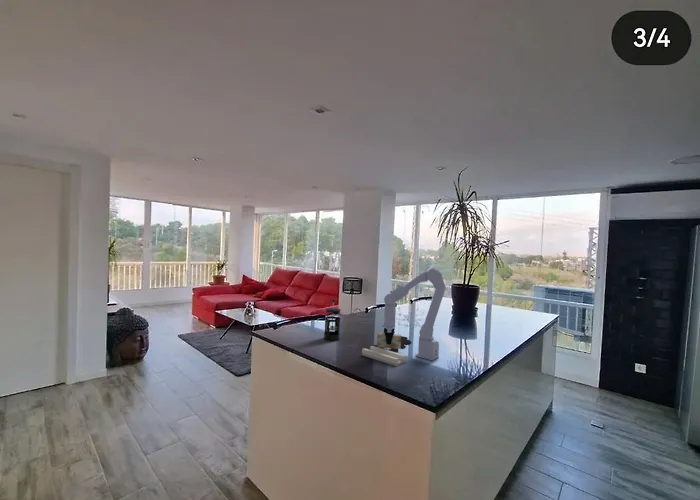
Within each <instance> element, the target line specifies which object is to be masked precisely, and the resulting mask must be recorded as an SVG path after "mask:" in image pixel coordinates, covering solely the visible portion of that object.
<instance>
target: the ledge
mask: <svg viewBox="0 0 700 500" xmlns="http://www.w3.org/2000/svg"><path fill="white" fill-rule="evenodd" d="M361 349H362V350H361V356H363V357H367V358H369V359H373V360H375V361H379V362H381V363H382V362H383V363H385V364H388V365H391V366H393V367H394V366H395V367H397V366H400V365H402V364H404V363H406V362H407V355H405V354H402V353H398V352H392V351H389V350H388V349H387V348H379V347H375V346H373V345H371V346H370V347H369V349H368V348H361Z"/></svg>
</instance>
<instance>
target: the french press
mask: <svg viewBox="0 0 700 500" xmlns="http://www.w3.org/2000/svg"><path fill="white" fill-rule="evenodd" d="M329 300H330V301H332V307H329V308H325V309H324V310H325V313H326V314H327V313H332V315H331V316H330V315H329V316H325V317H324V333H323V340H324V341H327V342H337V341H340V339H341V338H340V336H341V334H340V328H341V326H340V325H341V317H339V316H336V315H340V314H341V311H342V310H341V309H340V308H337V307H334V304H335V301H337V300H338V299H337V298H329ZM334 315H335V316H334Z"/></svg>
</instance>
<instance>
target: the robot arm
mask: <svg viewBox="0 0 700 500" xmlns="http://www.w3.org/2000/svg"><path fill="white" fill-rule="evenodd" d="M428 281H429V282H430V283H431V284H432V286H433V287H434V293H433V295H432V299H431V302H430V305H429V308H428V310H427V311H428V312H427V315H426V318H425V321H424V323H423V324H422V325H421V326H420V329H419V336H418V351H417V353H416V354H414V356H415V357H418V358H422V359H425V360H428V361H434V360H436V359H438V358H440V356H439V350H440V343H439V341H438V340H435V338H434V336H433V335H434V334H433V333H434V324H435V321H436V319H437V315H438V313H439V310H440V307H441V304H442V300H443V297H444V295H445V292H446V284H445V281H444V278H443V274H442V273H441V271H439V269H437V268H435V267H432V268H429V269H428V270H426V271H424V272H422V273H420V274H418V275H417V276H416V277H415V278H413V279H412V280H410V281H409V282H408V283H406V284H401V285H400V284H398V285H397V287H396V288H395V289H393V290H390V291H389V293H388V294H386V295H385V296H384V299H383V301H384V316H383V324H381V327H382V328H383V333H384V334H385V336H386V343H387V344H389V345H391V342H392V338H393V335H394V334H395V332H396V331H395V328H396V315H397V314H396V313H397V312H396V311H397V308H396V306H397V305H396V303H397V302H399V301H400V300H401V299H403V298H404V297H406V296H407V295H409V293H410V290H412V289H413V288H415V287H416V286H418V285H419V284H420V283H422V282H423V283H424V282H428Z"/></svg>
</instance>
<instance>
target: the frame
mask: <svg viewBox="0 0 700 500" xmlns="http://www.w3.org/2000/svg"><path fill="white" fill-rule="evenodd" d="M401 336H402V334H399V333H398V334H395V333H394V335H393V338H392V342H391V345H389V344H387V343H386V336H385V333H384V332H383V333H380V332H378V333H377V341H376V342H377V343H376V345H377V347H381V348H382V349H391V348H394V349H398V350H401Z"/></svg>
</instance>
